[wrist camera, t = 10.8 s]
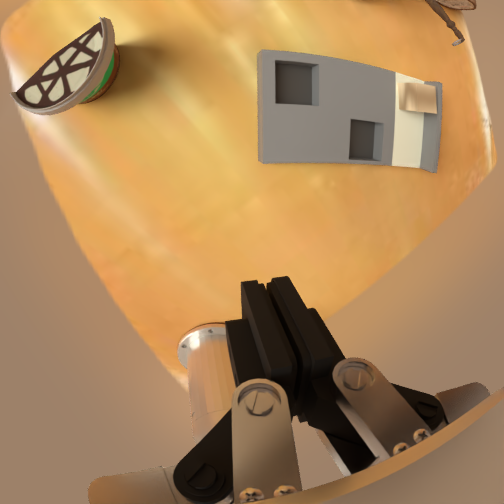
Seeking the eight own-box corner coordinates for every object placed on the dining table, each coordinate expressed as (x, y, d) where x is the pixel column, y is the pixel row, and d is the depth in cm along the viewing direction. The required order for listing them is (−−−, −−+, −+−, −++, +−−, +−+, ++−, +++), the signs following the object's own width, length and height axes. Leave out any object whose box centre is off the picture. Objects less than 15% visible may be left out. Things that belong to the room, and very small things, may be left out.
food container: (67, 133, 27) (28, 142, 19) (47, 97, 24) (5, 96, 16) (147, 75, 27) (131, 59, 18) (126, 38, 24) (104, 13, 15)
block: (418, 111, 32) (436, 113, 29) (399, 109, 32) (417, 111, 28) (416, 85, 30) (435, 86, 27) (397, 82, 30) (415, 82, 27)
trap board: (413, 164, 39) (436, 173, 34) (258, 160, 34) (269, 168, 30) (417, 82, 33) (442, 83, 28) (257, 53, 28) (268, 43, 23)
